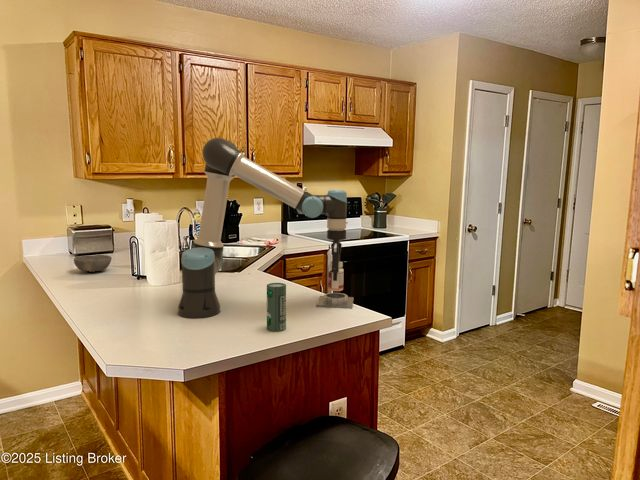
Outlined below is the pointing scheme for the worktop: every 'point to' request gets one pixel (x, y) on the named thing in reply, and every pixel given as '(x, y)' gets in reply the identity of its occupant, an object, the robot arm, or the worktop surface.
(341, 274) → the pill bottle
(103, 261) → the bowl
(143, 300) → the worktop surface
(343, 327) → the worktop surface
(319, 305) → the duct flange
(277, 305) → the can
